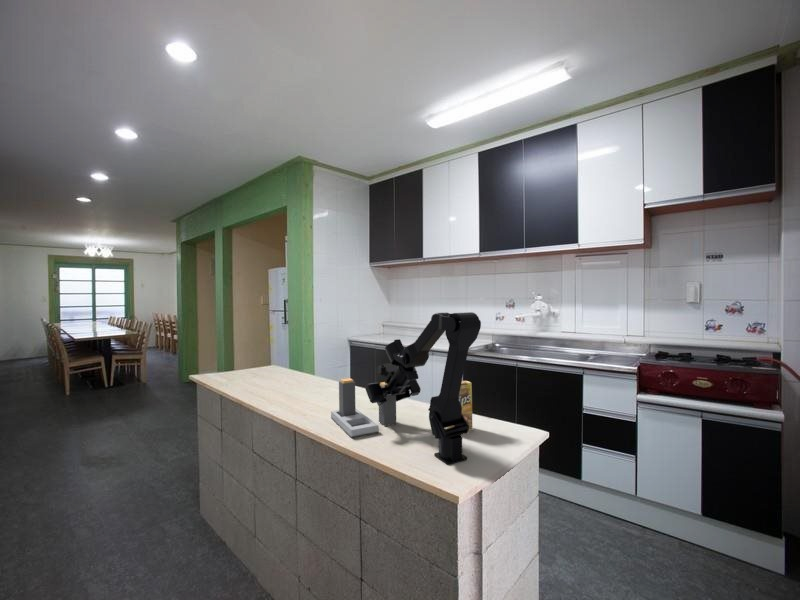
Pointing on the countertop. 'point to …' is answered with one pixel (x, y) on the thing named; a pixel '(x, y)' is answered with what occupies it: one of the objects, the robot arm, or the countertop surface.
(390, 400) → the orange grey tall block
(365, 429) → the light grey recessed block
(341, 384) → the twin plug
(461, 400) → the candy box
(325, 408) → the countertop surface
